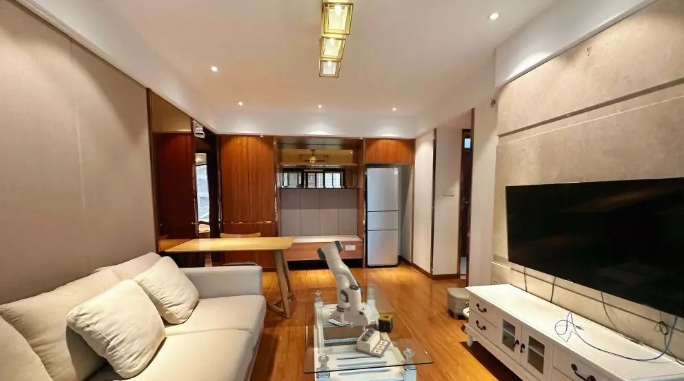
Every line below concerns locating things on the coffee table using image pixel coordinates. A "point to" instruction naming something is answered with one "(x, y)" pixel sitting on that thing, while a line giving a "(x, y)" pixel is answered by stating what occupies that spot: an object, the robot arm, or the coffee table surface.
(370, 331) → the switch
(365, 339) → the switch
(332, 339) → the coffee table surface
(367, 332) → the switch
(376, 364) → the coffee table surface
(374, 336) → the switch unit
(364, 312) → the robot arm
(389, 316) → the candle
